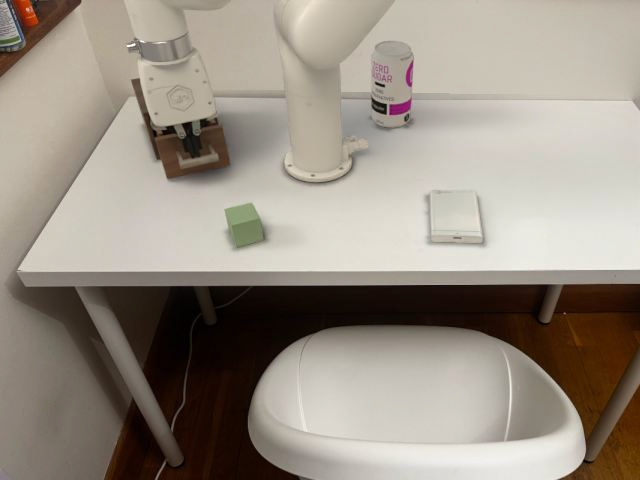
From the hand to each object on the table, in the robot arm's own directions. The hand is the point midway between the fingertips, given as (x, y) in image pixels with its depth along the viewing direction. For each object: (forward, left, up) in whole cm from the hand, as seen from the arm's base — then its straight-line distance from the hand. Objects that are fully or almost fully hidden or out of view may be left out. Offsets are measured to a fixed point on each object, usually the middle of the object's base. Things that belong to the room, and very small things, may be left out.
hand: (194, 153), depth 96 cm
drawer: (0, -7, -5) cm, 9 cm away
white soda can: (-41, -8, -7) cm, 43 cm away
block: (-3, +17, -6) cm, 18 cm away
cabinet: (0, -19, -6) cm, 20 cm away
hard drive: (-36, +27, -7) cm, 46 cm away
